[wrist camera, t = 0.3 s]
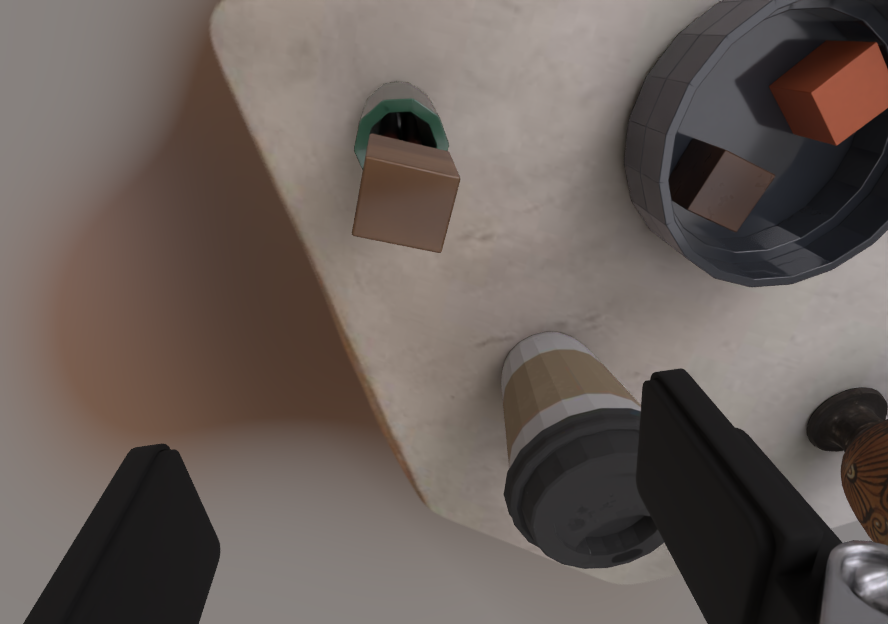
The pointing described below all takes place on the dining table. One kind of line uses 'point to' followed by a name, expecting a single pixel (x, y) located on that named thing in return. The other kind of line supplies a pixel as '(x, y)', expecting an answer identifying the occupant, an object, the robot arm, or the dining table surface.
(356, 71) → the dining table surface
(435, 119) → the holder
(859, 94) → the terracotta block
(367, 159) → the wooden cube mallet
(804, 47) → the bowl
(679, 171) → the walnut block
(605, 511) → the coffee cup
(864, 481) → the vase
